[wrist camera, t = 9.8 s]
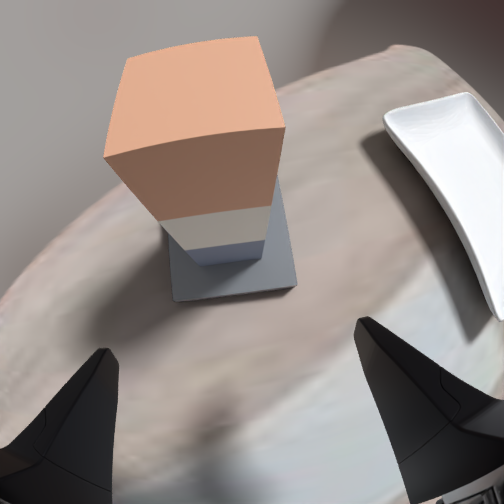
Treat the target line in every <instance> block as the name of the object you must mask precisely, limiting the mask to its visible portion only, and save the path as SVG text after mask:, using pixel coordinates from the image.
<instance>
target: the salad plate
mask: <svg viewBox="0 0 504 504" xmlns="http://www.w3.org/2000/svg"><path fill="white" fill-rule="evenodd" d="M383 124H384V126H385V129H386V130H387V132H388V134H389V135H390V137H391V138H392V140H393V141H394V142H395V143H396V145H397V146H398V147H399V148H400V150H401V151H402V152H403V153H404V154H405V156H406V157H407V158H408V159H409V161H410V162H411V163H412V164H413V166H414V167H415V168H416V170H417V171H418V172H419V174H420V175H421V176H422V178H423V179H424V180H425V182H426V183H427V185H428V186H429V188H430V189H431V191H432V192H433V194H434V195H435V197H436V198H437V200H438V201H439V203H440V204H441V206H442V208H443V209H444V211H445V213H446V214H447V216H448V218H449V219H450V221H451V223H452V225H453V227H454V228H455V230H456V232H457V234H458V236H459V238H460V240H461V242H462V244H463V246H464V248H465V250H466V252H467V254H468V256H469V259H470V261H471V263H472V266H473V268H474V270H475V273H476V275H477V278H478V281H479V283H480V286H481V289H482V291H483V294H484V296H485V299H486V301H487V304H488V306H489V308H490V310H491V312H492V313H493V315H494V316H495V318H496V319H497V320H498V321H499V322H501V321H503V320H504V134H503V132H502V131H501V129H500V128H499V127H498V125H497V124H496V123H495V121H494V120H493V119H492V117H491V116H490V115H489V114H488V112H487V111H486V110H485V109H484V108H483V106H482V105H481V104H480V103H479V102H478V100H477V99H476V98H475V97H474V96H473V95H472V94H470V93H468V92H464V93H459V94H455V95H451V96H447V97H443V98H439V99H435V100H431V101H426V102H422V103H418V104H413V105H409V106H404V107H400V108H397V109H393V110H391V111H388V112H387V113H385V114H384V115H383Z"/></svg>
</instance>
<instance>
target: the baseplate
mask: <svg viewBox="0 0 504 504" xmlns="http://www.w3.org/2000/svg"><path fill="white" fill-rule="evenodd" d="M168 242H169V259H170V273H171V285H172V296H173V301H176V302H182V301H192V300H201V299H209V298H218V297H226V296H234V295H242V294H249V293H257V292H264V291H271V290H278V289H285V288H291V287H295V286H297V278H296V272H295V266H294V260H293V255H292V249H291V243H290V238H289V232H288V227H287V221H286V216H285V211H284V205H283V200H282V195H281V190H280V185H279V180H278V175H277V178H276V184H275V189H274V195H273V200H272V206H271V211H270V216H269V222H268V227H267V233H266V238H265V243H264V249H263V254H262V258H261V259H253V260H246V261H238V262H230V263H223V264H215V265H207V266H199V265H198V264H197V263H196V262H195V261H194V260H193V259H192V258H191V257H190V256H189V255H188V254H187V252H186V251H185V250H184V249H183V248H182V247H181V246H180V245H179V244H178V243H177V242H176V241H175V240H174V238H173V237H172V236H171V235H170V234H169V233H168Z"/></svg>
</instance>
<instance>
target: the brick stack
mask: <svg viewBox="0 0 504 504" xmlns="http://www.w3.org/2000/svg"><path fill="white" fill-rule="evenodd" d="M284 133H285V124H284V120H283V117H282V113H281V110H280V106H279V103H278V99H277V96H276V93H275V89H274V86H273V83H272V80H271V76H270V73H269V70H268V67H267V64H266V61H265V58H264V55H263V52H262V49H261V46H260V43H259V41H258V37H257V36H254V37H238V38H228V39H219V40H210V41H203V42H196V43H191V44H185V45H180V46H175V47H170V48H166V49H161V50H157V51H153V52H149V53H146V54H142V55H138V56H135V57H131V58H128V59H127V62H126V65H125V68H124V71H123V75H122V78H121V81H120V85H119V88H118V92H117V95H116V99H115V104H114V107H113V111H112V116H111V120H110V125H109V130H108V135H107V140H106V146H105V151H104V157H103V158H104V159H105V160H106V162H107V163H108V164H109V165H110V166H111V167H112V169H113V170H114V171H115V172H116V174H117V175H118V176H119V177H120V178H121V180H122V181H123V182H124V183H125V184H126V185H127V187H128V188H129V189H130V190H131V191H132V192H133V194H134V195H135V196H136V197H137V198H138V199H139V200H140V202H141V203H142V204H143V205H144V206H145V207H146V208H147V210H148V211H149V212H150V213H151V214H152V215H153V216H154V217H155V219H156V220H157V221H158V222H159V223H160V224H161V225H162V226H163V227H164V229H165V230H166V231H167V232H168V233H169V234H170V235H171V236H172V237H173V238H174V240H175V241H176V242H177V243H178V244H179V245H180V246H181V247H182V248H183V249H184V250H185V251H186V252H187V254H188V255H189V256H190V257H191V258H192V259H193V260H194V261H195V262H196V263H197V264H198V265H199V266H207V265H215V264H223V263H230V262H238V261H246V260H253V259H261V258H262V254H263V249H264V243H265V238H266V233H267V227H268V222H269V216H270V211H271V206H272V200H273V195H274V189H275V184H276V178H277V172H278V167H279V161H280V156H281V150H282V144H283V138H284Z"/></svg>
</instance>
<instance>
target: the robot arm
mask: <svg viewBox="0 0 504 504" xmlns="http://www.w3.org/2000/svg"><path fill="white" fill-rule="evenodd" d="M354 340H355V344H356V347H357V350H358V354H359V357H360V361H361V364H362V368H363V371H364V375H365V377H366V380H367V382H368V385H369V387H370V390H371V392H372V395H373V397H374V400H375V402H376V405H377V407H378V410H379V413H380V415H381V418H382V421H383V423H384V426H385V429H386V431H387V434H388V437H389V440H390V442H391V445H392V448H393V451H394V454H395V457H396V460H397V463H398V466H399V469H400V472H401V475H402V478H403V481H404V485H405V488H406V491H407V494H408V498H409V501H410V504H419V503H422V502H425V501H428V500H431V499H434V498H436V497H439V496H442V498H441V499H439V500H438V501H437V502H436V504H504V400H500V399H496V398H493V397H491V396H489V395H487V394H485V393H483V392H482V391H480V390H478V389H476V388H474V387H473V386H471V385H469V384H467V383H466V382H464V381H462V380H461V379H459V378H457V377H456V376H454V375H453V374H451V373H450V372H448V371H447V370H445V369H444V368H443V367H441V366H439V365H438V364H437V363H435V362H434V361H433V360H431V359H430V358H428V357H427V356H425V355H424V354H423V353H421V352H420V351H418V350H417V349H415V348H414V347H413V346H411V345H410V344H408V343H407V342H405V341H404V340H403V339H401V338H400V337H398V336H397V335H395V334H394V333H392V332H391V331H390V330H388V329H387V328H385V327H384V326H382V325H381V324H379V323H378V322H376V321H375V320H374V319H372V318H371V317H368V316H366V317H362V318H359V319H358V320H357V323H356V327H355V331H354ZM118 378H119V363H118V361H117V359H116V358H115V356H114V355H113V353H112V352H111V350H110V349H109V348H99V349H97V350H96V351H95V352H94V354H93V355H92V356H91V357H90V358H89V359H88V360H87V361H86V362H85V363H84V364H83V365H82V366H81V367H80V368H79V370H78V371H77V372H76V373H75V374H74V375H73V376H72V377H71V378H70V379H69V381H68V382H67V383H66V384H65V385H64V386H63V387H62V388H61V389H60V391H59V392H58V393H57V394H56V395H55V396H54V397H53V398H52V400H51V401H50V402H49V403H48V404H47V405H46V406H45V408H44V409H43V410H42V411H41V412H40V413H39V414H38V416H37V417H36V418H35V419H34V420H33V421H32V422H31V423H30V424H29V425H28V426H27V427H26V428H25V429H24V430H23V431H22V432H21V433H20V434H19V435H18V436H17V437H16V438H15V439H14V440H13V441H12V442H11V443H10V444H9V445H7V446H6V447H4V448H1V449H0V504H112V463H113V445H114V433H115V422H116V413H117V404H118Z"/></svg>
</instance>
